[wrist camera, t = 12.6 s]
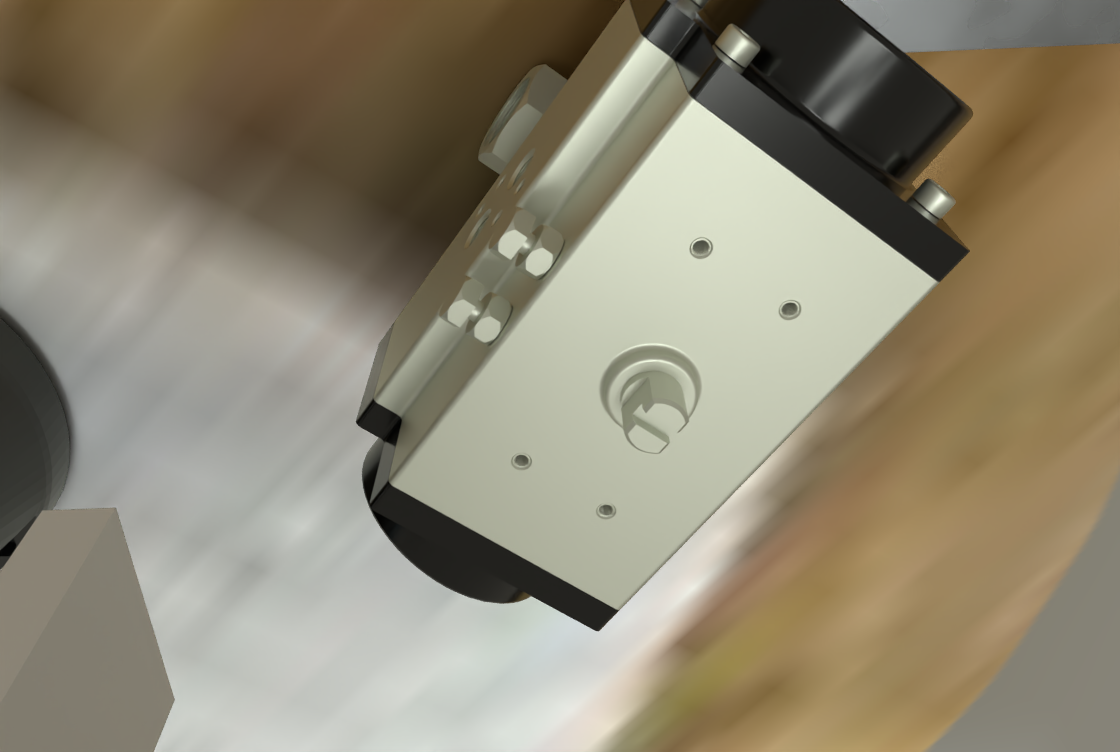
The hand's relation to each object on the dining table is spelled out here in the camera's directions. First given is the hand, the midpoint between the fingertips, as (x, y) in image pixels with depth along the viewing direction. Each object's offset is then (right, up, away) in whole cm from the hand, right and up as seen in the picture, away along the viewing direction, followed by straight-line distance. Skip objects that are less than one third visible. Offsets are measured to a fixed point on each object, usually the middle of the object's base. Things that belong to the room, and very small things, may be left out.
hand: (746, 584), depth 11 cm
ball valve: (-1, +10, +27) cm, 29 cm away
